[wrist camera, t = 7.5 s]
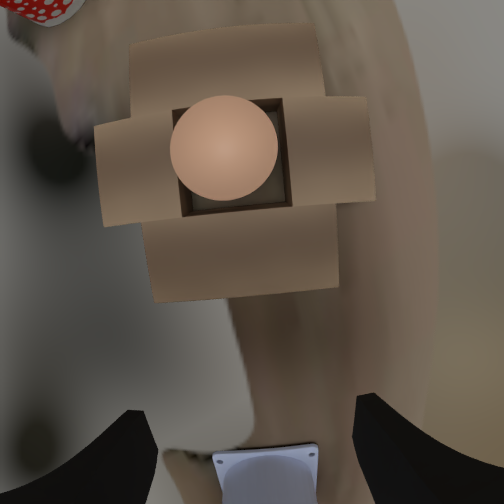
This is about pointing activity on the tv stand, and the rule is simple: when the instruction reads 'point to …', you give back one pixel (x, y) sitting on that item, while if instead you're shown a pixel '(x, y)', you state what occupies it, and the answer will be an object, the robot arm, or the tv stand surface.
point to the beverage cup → (44, 10)
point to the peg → (223, 147)
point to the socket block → (241, 217)
